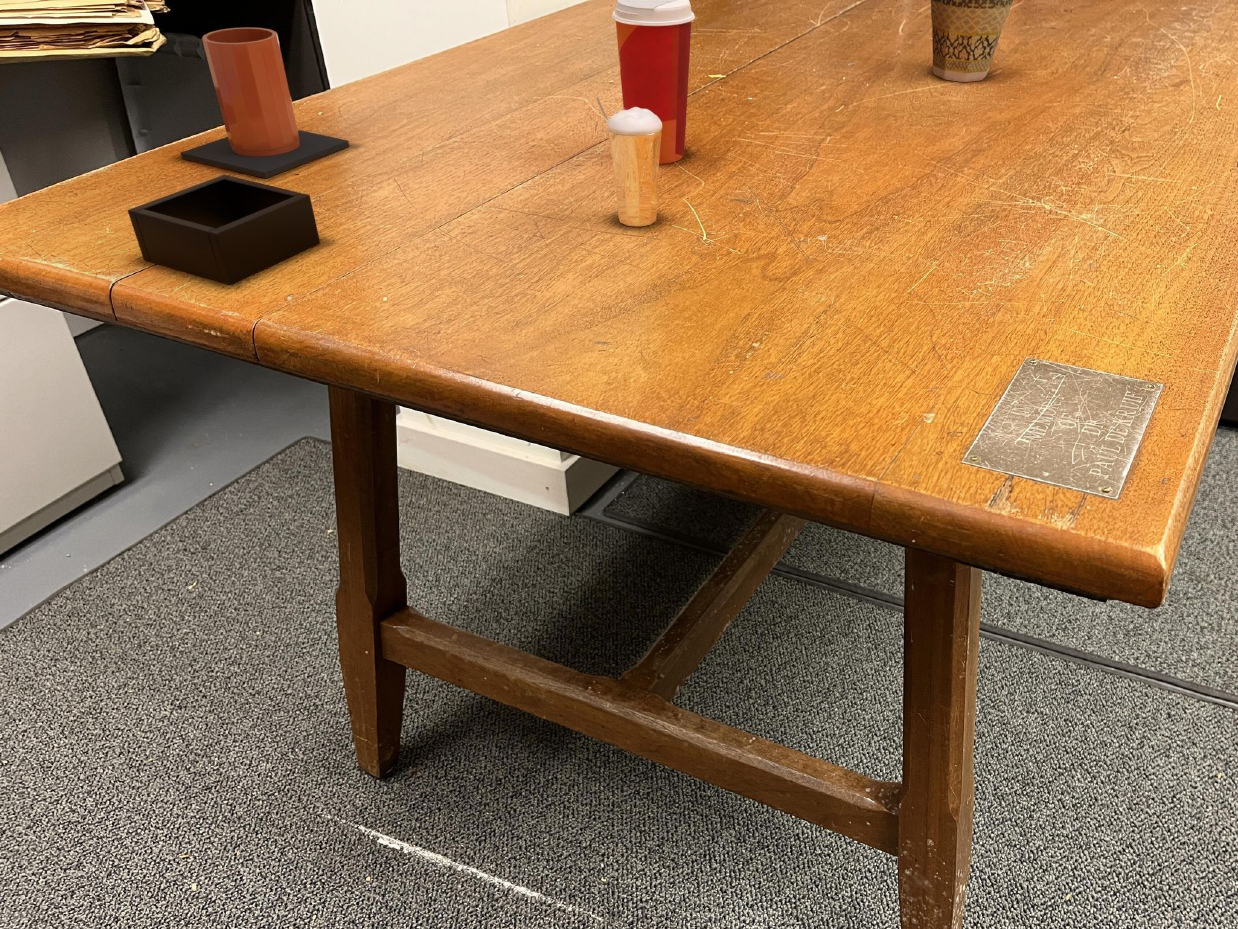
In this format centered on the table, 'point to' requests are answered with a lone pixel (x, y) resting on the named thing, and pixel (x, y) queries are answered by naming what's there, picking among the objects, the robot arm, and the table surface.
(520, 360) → the table surface
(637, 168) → the milkshake
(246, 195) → the open black box
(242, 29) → the cup
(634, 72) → the paper cup
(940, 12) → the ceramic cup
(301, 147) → the coaster
